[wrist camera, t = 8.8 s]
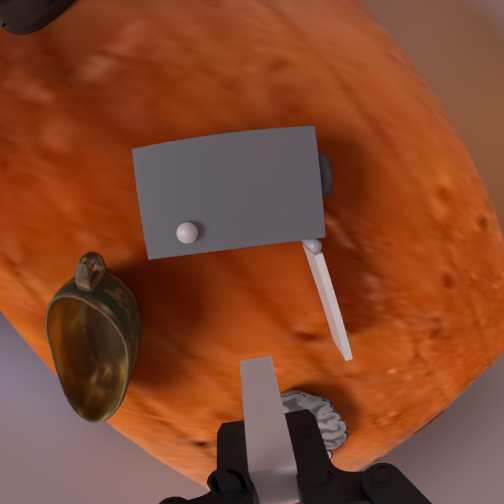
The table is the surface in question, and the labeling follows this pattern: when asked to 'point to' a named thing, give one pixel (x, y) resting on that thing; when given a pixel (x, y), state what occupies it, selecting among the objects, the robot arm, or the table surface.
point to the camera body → (232, 191)
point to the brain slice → (318, 416)
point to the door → (328, 296)
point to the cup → (94, 338)
